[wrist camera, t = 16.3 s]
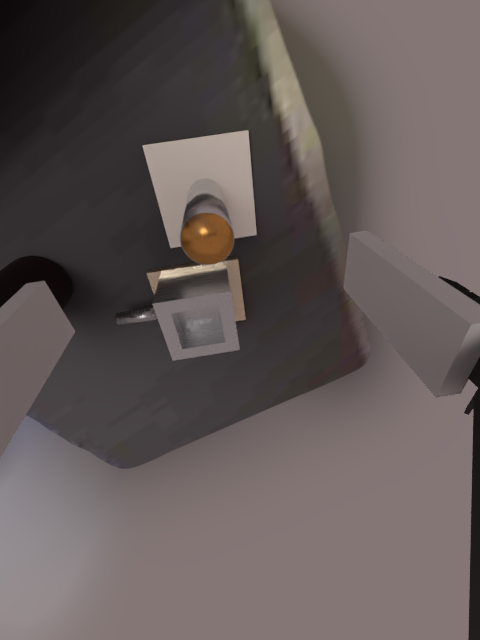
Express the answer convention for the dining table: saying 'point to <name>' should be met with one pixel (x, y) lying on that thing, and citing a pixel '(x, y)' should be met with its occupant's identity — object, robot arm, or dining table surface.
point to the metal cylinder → (206, 224)
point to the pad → (203, 162)
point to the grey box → (194, 307)
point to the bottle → (34, 278)
